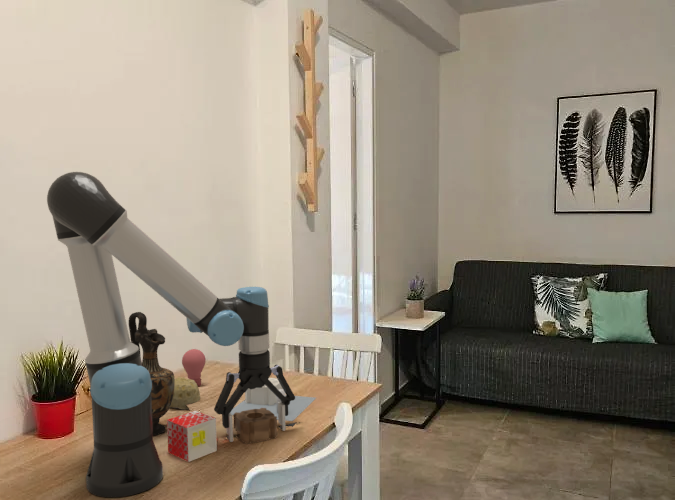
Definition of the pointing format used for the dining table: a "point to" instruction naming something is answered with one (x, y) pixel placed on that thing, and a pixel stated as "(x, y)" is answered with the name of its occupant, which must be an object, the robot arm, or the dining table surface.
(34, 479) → the dining table surface
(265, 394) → the gear
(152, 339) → the vase
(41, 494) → the dining table surface
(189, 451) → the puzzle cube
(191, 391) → the decorative item
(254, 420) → the walnut gear
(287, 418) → the gear board
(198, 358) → the light bulb
